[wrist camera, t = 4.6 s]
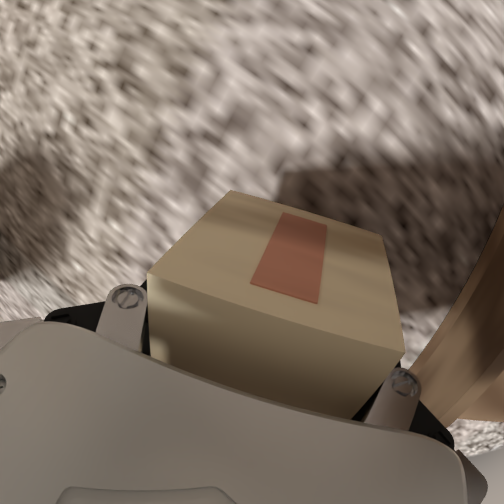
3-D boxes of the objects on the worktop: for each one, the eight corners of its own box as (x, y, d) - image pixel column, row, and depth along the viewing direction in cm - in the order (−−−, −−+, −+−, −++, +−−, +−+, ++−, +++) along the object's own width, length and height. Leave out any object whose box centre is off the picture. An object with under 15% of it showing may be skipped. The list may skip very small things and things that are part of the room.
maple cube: (230, 189, 12) (147, 270, 7) (382, 234, 11) (406, 351, 6) (212, 307, 15) (155, 404, 10) (330, 344, 14) (314, 455, 9)
